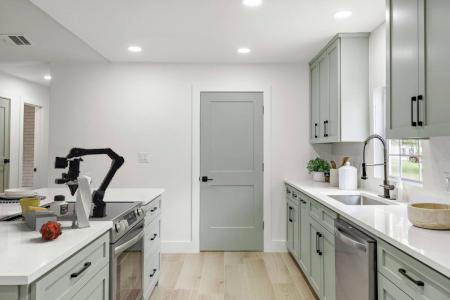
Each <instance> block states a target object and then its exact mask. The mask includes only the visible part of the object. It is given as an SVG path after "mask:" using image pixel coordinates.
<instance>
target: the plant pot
mask: <svg viewBox="0 0 450 300" xmlns="http://www.w3.org/2000/svg"><path fill="white" fill-rule="evenodd" d="M40 204H41V199H40V198H37V197H36V198H35V197H34V198H33V197H31V198H21V199H19V206H20V208H21V212H22V213H21V215H22V217H24V218H25V211H32V210H33V209H29V208H28V207H29V206H32V207H39V206H40Z"/></svg>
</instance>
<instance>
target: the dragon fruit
mask: <svg viewBox="0 0 450 300" xmlns="http://www.w3.org/2000/svg"><path fill="white" fill-rule="evenodd" d="M39 233H40V234H41V238H42V239H44V240H45V241H46V242H48V241H51V240H53V239H55V240H56V239H58V238H59V237H60V236H61V235H63V230H62V224H61V223H60V222H58V221H57V222H56V221H52V222H51V221H48V222H47V223H46V224H43V225H42V227H41V230H40V231H39Z"/></svg>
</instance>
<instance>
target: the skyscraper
mask: <svg viewBox="0 0 450 300" xmlns="http://www.w3.org/2000/svg"><path fill="white" fill-rule="evenodd" d="M88 174H90V175H91V176H89V175H88ZM93 175H94V173H93V172H86V173H84V174H83V175H79V177H77V179H78V185H79V187H78V189H77V191H76V197H75V202H73V203H74V204H73V210H72V219H71V220H72V221H71V227H72V228H73V229H75V230H78V229H86V228H91V224H90V221H89V217H90V213H91V208H92V196H91V195H92V190H91V183H92V177H93ZM90 182H91V183H90ZM76 217H77V218H76ZM76 219H77V221H76Z"/></svg>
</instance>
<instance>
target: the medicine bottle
mask: <svg viewBox="0 0 450 300" xmlns="http://www.w3.org/2000/svg"><path fill="white" fill-rule="evenodd" d="M49 207H50V208H49V211H53V212H55V213H54V214H56V215H57V217H63V216H66V215H69V202H66V196H65V195H63V194H57V195H54V196H53V203H50V204H49Z"/></svg>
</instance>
